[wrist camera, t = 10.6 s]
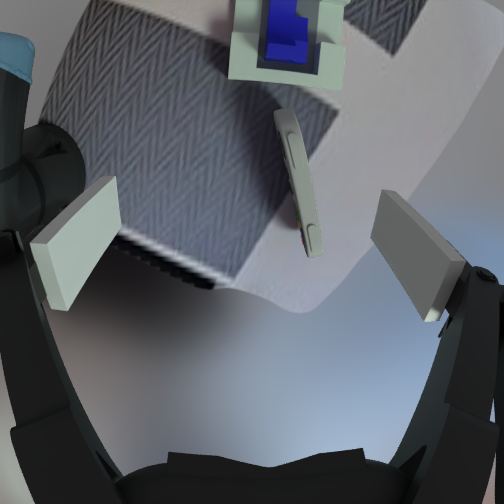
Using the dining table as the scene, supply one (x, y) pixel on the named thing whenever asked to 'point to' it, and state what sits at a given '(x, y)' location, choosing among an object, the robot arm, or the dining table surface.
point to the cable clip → (286, 33)
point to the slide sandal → (299, 180)
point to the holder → (309, 74)
